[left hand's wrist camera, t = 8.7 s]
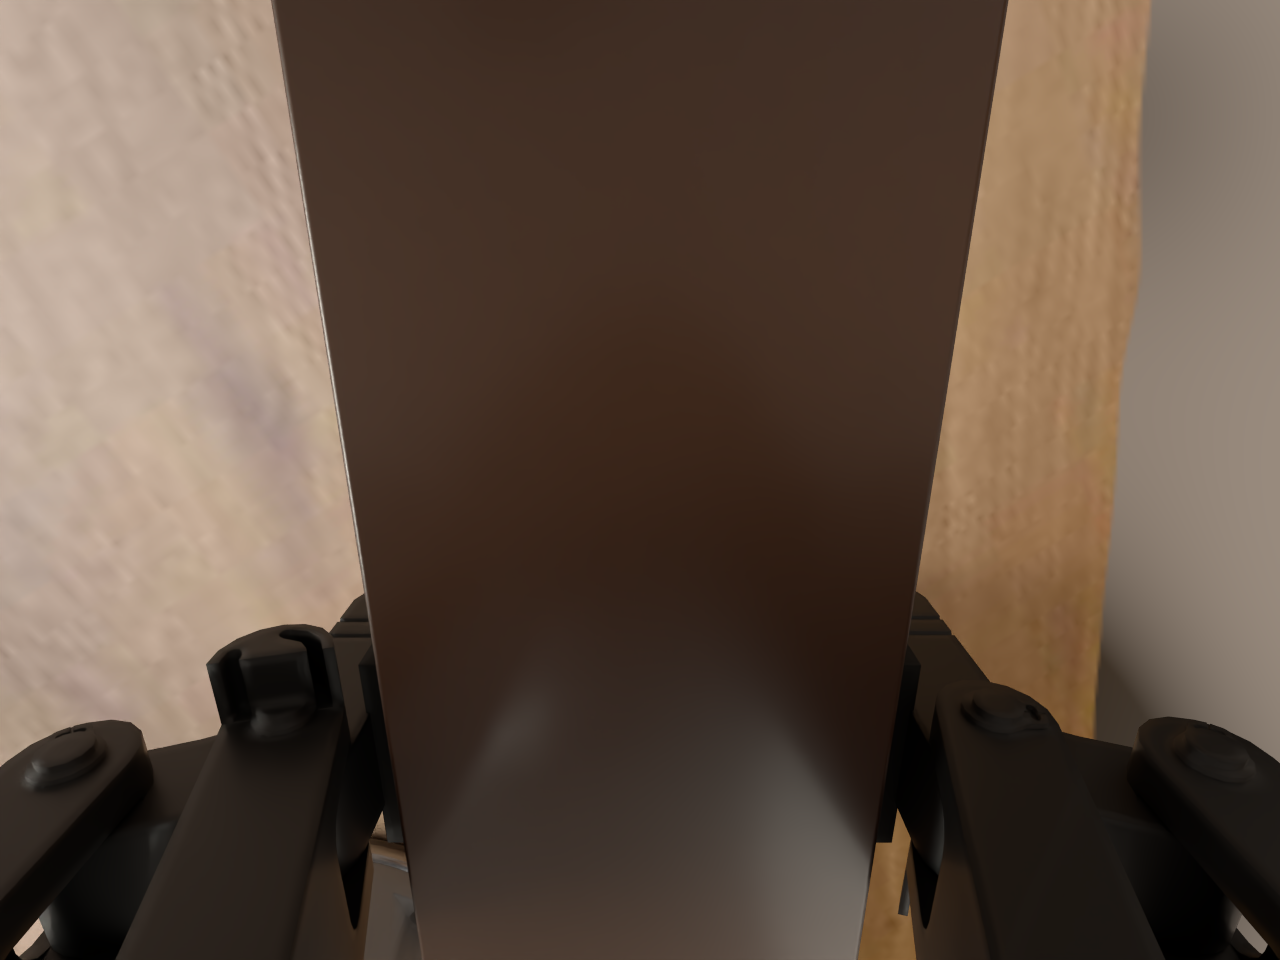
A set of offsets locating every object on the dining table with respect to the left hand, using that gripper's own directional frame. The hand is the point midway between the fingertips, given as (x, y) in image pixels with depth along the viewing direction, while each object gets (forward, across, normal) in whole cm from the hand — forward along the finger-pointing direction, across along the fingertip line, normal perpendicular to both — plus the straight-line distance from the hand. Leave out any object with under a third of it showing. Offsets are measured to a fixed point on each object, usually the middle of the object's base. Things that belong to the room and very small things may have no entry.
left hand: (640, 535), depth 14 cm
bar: (0, 0, -10) cm, 10 cm away
